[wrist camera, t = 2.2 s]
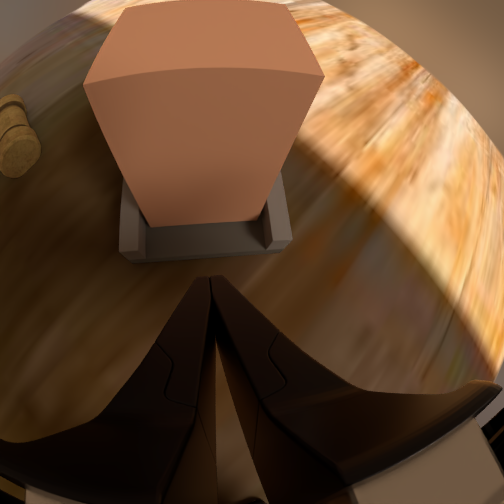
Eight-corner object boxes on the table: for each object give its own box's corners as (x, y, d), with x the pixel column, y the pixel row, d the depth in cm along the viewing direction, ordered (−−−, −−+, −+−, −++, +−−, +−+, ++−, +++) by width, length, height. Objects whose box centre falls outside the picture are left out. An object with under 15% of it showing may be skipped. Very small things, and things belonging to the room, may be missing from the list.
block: (256, 220, 18) (324, 76, 7) (150, 227, 17) (82, 84, 5) (247, 147, 19) (284, 4, 8) (154, 152, 18) (125, 7, 7)
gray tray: (280, 252, 19) (297, 234, 15) (132, 263, 17) (113, 247, 13) (250, 76, 23) (257, 47, 20) (150, 80, 22) (145, 50, 18)
